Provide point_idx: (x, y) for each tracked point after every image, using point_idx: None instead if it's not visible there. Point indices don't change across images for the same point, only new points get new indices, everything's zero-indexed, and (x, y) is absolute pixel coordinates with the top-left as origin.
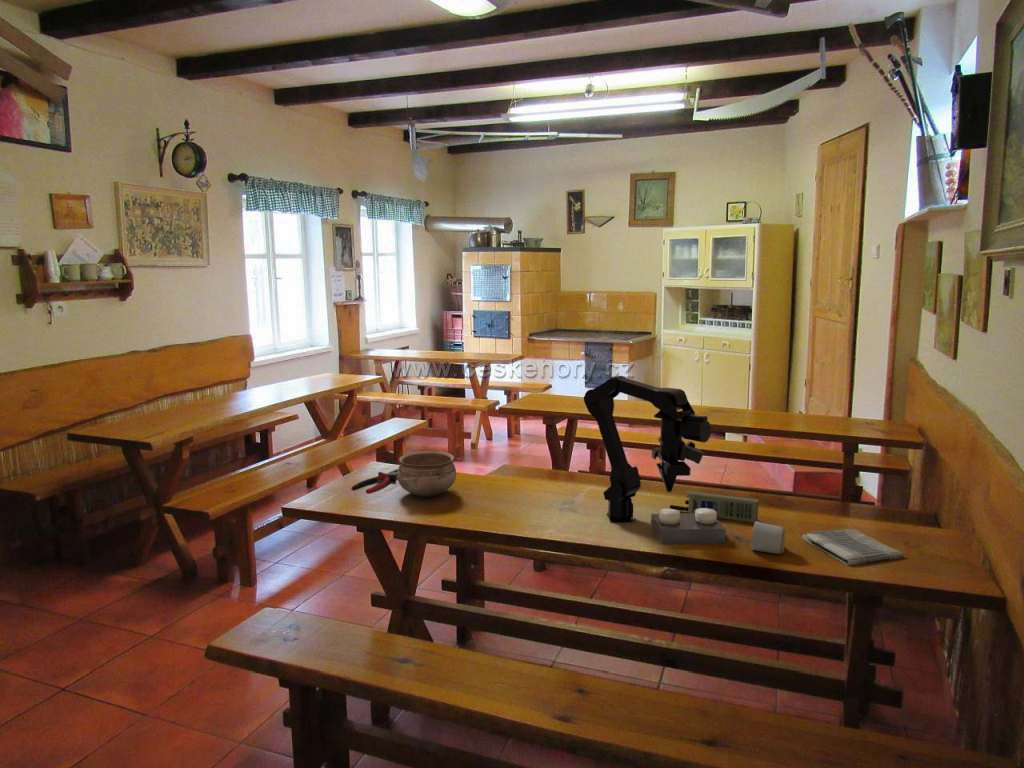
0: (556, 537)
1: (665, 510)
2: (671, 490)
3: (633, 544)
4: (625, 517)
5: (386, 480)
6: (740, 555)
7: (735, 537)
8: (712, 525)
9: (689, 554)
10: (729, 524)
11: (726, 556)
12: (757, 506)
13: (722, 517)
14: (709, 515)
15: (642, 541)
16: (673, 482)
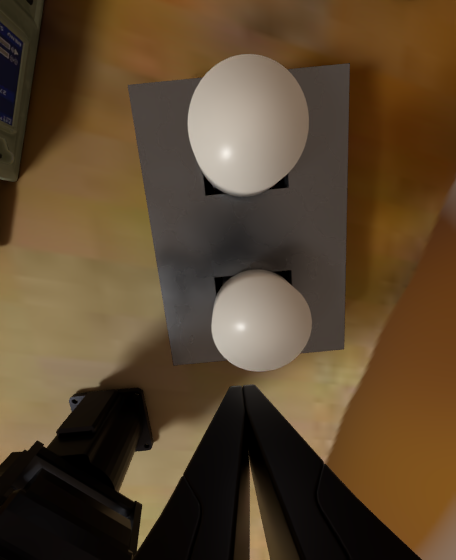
0: None
1: (240, 342)
2: (259, 390)
3: (319, 398)
4: (134, 415)
5: None
6: (435, 70)
7: (261, 35)
8: None
9: (404, 254)
10: (112, 18)
11: (436, 129)
12: None
13: (38, 29)
14: (307, 118)
15: (298, 374)
16: (312, 459)
